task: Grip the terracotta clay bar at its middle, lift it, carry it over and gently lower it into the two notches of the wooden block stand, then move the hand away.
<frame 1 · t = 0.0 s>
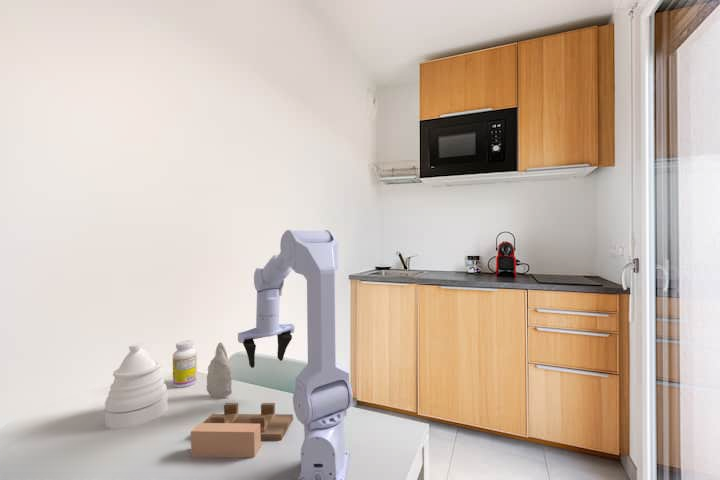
hand: (266, 362, 83), 11 cm above the table, tool pointing down, fingers open, 7 cm apart
stone tool: (219, 396, 88), on the table
supplement bottle: (185, 384, 97), on the table
clay bar: (226, 452, 63), on the table
wooden block stand: (244, 428, 71), on the table
honey pot: (137, 415, 79), on the table
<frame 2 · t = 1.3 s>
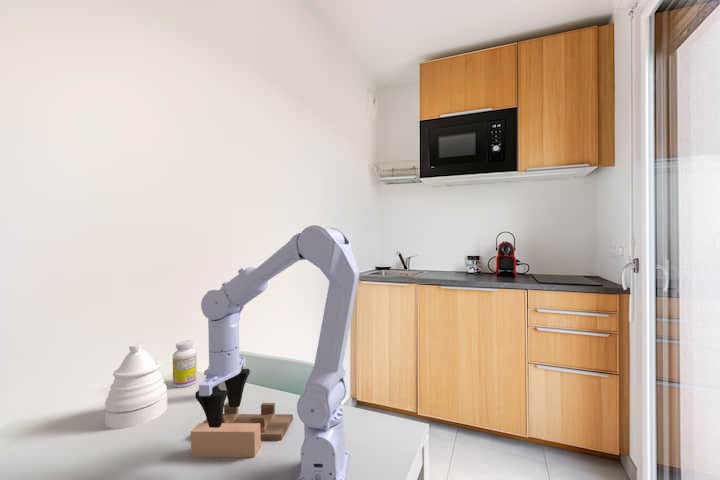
hand: (225, 415, 63), 7 cm above the table, tool pointing down, fingers open, 7 cm apart
nothing on the table moved.
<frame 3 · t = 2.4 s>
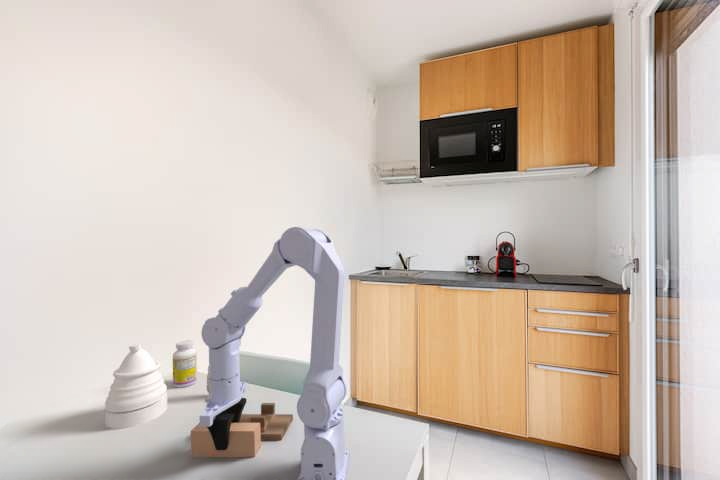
hand: (226, 443, 63), 2 cm above the table, tool pointing down, fingers closed on clay bar, 3 cm apart
clay bar: (226, 452, 63), on the table, touching gripper
everything else where it was.
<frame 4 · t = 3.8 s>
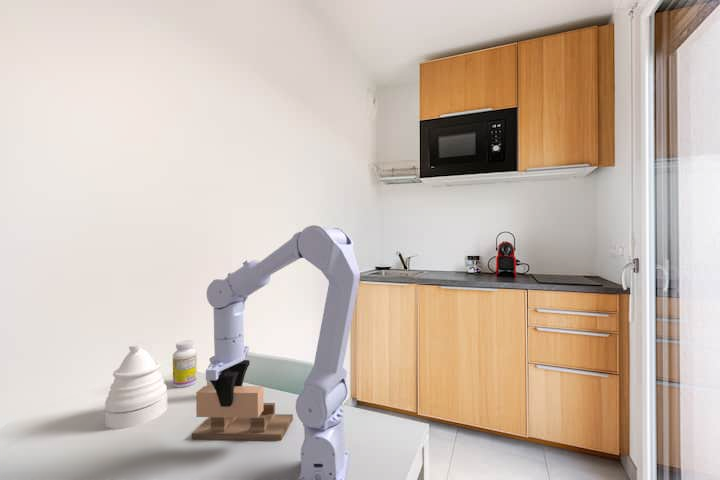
hand: (230, 401, 65), 9 cm above the table, tool pointing down, fingers closed on clay bar, 3 cm apart
clay bar: (230, 413, 65), point 6 cm above the table, touching gripper
everything else where it was.
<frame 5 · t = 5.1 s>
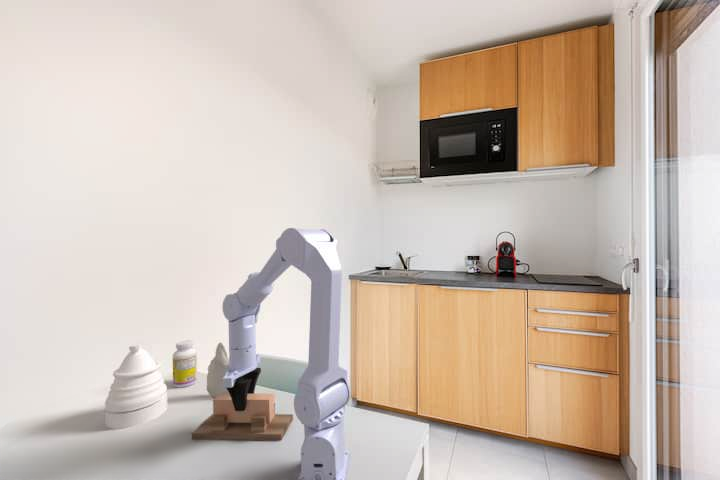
hand: (243, 406, 71), 5 cm above the table, tool pointing down, fingers closed on clay bar, 3 cm apart
clay bar: (244, 418, 71), point 2 cm above the table, touching wooden block stand, gripper
everything else where it was.
when the fingers open (5 cm above the table, at t = 5.4 s): clay bar stays where it is, resting on wooden block stand.
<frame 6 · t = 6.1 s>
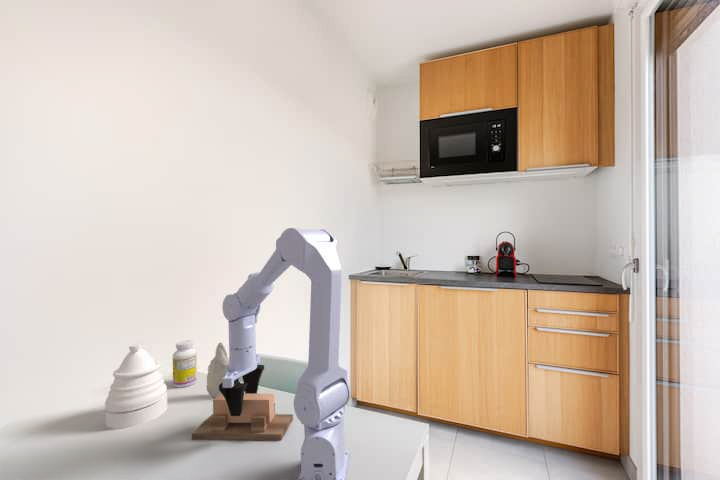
hand: (244, 406, 71), 5 cm above the table, tool pointing down, fingers open, 7 cm apart
clay bar: (244, 418, 71), point 2 cm above the table, touching wooden block stand
everything else where it was.
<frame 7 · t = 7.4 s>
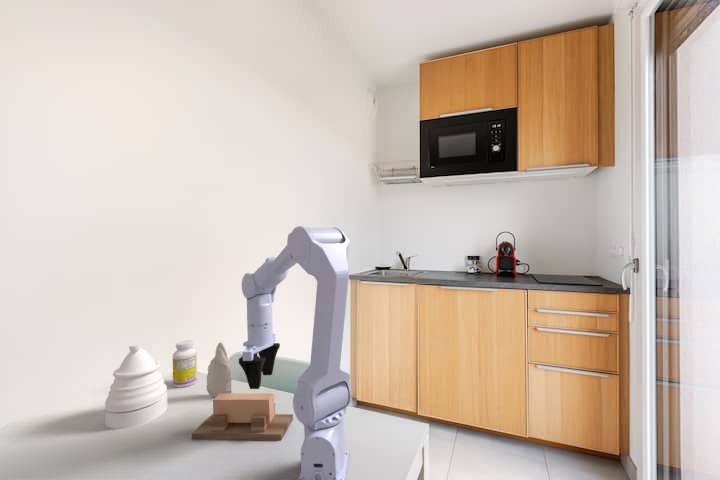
hand: (261, 381, 74), 9 cm above the table, tool pointing down, fingers open, 7 cm apart
nothing on the table moved.
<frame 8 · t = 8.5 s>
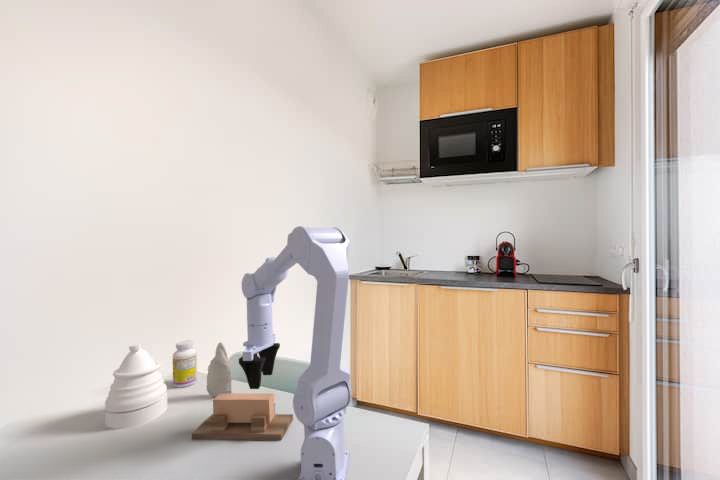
hand: (261, 381, 74), 9 cm above the table, tool pointing down, fingers open, 7 cm apart
nothing on the table moved.
at the end: clay bar 0.0 cm off-centre on the wooden block stand, point 2.2 cm above the wooden block stand's base; clay bar tilted 0°; the gripper is holding nothing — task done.
